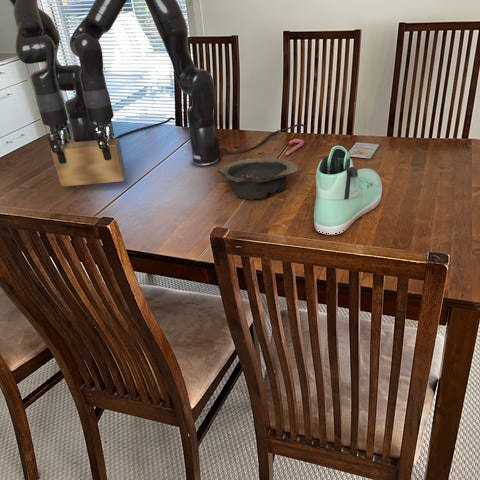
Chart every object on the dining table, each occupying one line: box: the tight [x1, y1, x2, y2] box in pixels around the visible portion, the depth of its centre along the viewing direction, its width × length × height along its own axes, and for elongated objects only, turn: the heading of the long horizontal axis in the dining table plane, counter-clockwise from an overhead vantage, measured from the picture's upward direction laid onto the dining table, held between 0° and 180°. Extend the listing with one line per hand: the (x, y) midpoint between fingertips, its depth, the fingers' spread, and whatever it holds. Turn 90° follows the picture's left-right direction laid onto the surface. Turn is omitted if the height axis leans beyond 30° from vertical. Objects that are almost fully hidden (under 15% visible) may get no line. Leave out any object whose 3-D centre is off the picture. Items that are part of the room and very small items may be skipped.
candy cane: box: [284, 138, 305, 156], centre depth 182 cm, size 6×15×2 cm, turn 145°
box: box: [50, 138, 127, 188], centre depth 155 cm, size 20×6×12 cm, turn 93°
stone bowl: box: [217, 157, 299, 201], centre depth 152 cm, size 25×25×9 cm
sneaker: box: [313, 145, 383, 236], centre depth 133 cm, size 14×35×20 cm, turn 152°
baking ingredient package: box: [347, 141, 380, 159], centre depth 175 cm, size 9×1×15 cm
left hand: (65, 158), depth 154 cm, fingers closed on box, 6 cm apart
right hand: (110, 155), depth 154 cm, fingers closed on box, 6 cm apart
